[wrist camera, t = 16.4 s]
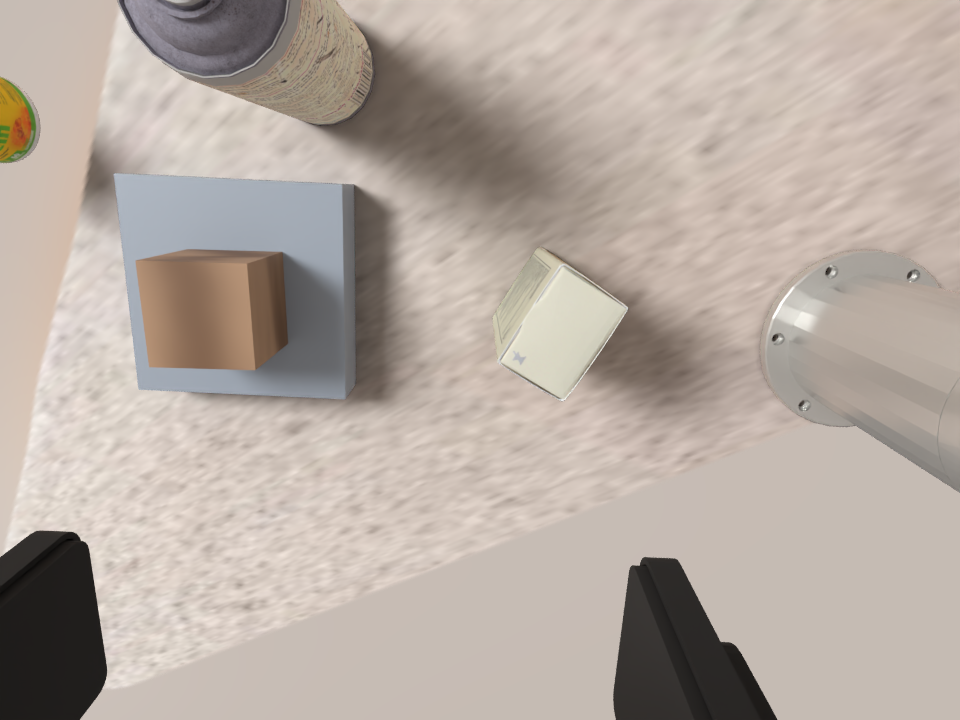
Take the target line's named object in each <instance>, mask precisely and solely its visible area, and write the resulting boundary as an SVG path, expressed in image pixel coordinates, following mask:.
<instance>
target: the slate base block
mask: <svg viewBox="0 0 960 720" xmlns="http://www.w3.org/2000/svg"><path fill="white" fill-rule="evenodd" d="M114 180H115V189H116V197H117V206H118V215H119V223H120V232H121V241H122V249H123V258H124V267H125V275H126V284H127V293H128V301H129V310H130V319H131V327H132V336H133V344H134V353H135V362H136V370H137V379H138V388H139V390H160V391H181V392H202V393H223V394H244V395H265V396H286V397H307V398H327V399H346V398H347V396H348V395H349V393H350V392H351V390H352V389H353V387H354V386H355V384H356V325H355V221H354V185H353V184H333V183H312V182H292V181H271V180H251V179H231V178H210V177H190V176H169V175H149V174H120V173H114ZM186 249H202V250H237V251H272V252H283V268H284V284H285V300H286V316H287V333H288V344H287V345H286V346H285V347H283V348H282V349H281V350H280V351H278V352H277V353H276V354H275V355H274V356H272V357H271V358H270V359H269V360H267V361H266V362H265V363H264V364H262V365H261V366H260V367H259V368H258V369H256V370H227V369H192V368H156V367H149V363H148V355H147V347H146V339H145V332H144V324H143V316H142V309H141V301H140V293H139V286H138V278H137V270H136V262H135V260H140V259H144V258H149V257H154V256H158V255H163V254H167V253H172V252H177V251H181V250H186Z"/></svg>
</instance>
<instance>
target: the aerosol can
mask: <svg viewBox="0 0 960 720" xmlns="http://www.w3.org/2000/svg"><path fill="white" fill-rule="evenodd" d="M117 1H118V5H119V7H120V9H121V11H122V13H123V15H124V17H125V19H126V21H127V23H128V25H129V27H130V29H131V31H132V33H133V34H134V35H135V36H136V37H137V38H138V39H139V40H140V42H141V43H142V44H143V45H144V46H145V47H146V48H147V50H148V51H149V52H150V53H151V54H152V55H153V56H155V57H156V58H158V59H159V60H161V61H162V62H163V63H164V64H165V65H167V66H168V67H170V68H171V69H173V70H175V71H176V72H178V73H179V74H181V75H182V76H184V77H185V78H187V79H189V80H192V81H195V82H197V83H200V84H203V85H206V86H208V87H211V88H214V89H217V90H219V91H222V92H225V93H228V94H230V95H233V96H236V97H239V98H241V99H244V100H247V101H250V102H252V103H255V104H258V105H261V106H263V107H266V108H269V109H272V110H274V111H277V112H280V113H283V114H285V115H288V116H291V117H294V118H296V119H299V120H302V121H305V122H309V123H312V124H316V125H320V126H321V125H336V124H339V123H341V122H343V121H346V120H348V119H350V118H352V117H353V116H354V115H355V114H356V113H357V112H358V111H359V110H360V109H361V108H363V106H364V105H365V103H366V101H367V99H368V97H369V95H370V94H371V92H372V86H373V81H374V76H375V70H374V60H373V54H372V52H371V49H370V47H369V44H368V42H367V39H366V38H365V36H364V35H363V34H362V33H361V31H360V30H359V29H358V27H357V26H356V25H355V24H354V22H353V21H352V20H351V19H350V17H349V16H348V15H347V14H346V12H345V11H344V10H343V9H342V7H341V6H340V5H339V4H338V2H337V1H336V0H117Z"/></svg>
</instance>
